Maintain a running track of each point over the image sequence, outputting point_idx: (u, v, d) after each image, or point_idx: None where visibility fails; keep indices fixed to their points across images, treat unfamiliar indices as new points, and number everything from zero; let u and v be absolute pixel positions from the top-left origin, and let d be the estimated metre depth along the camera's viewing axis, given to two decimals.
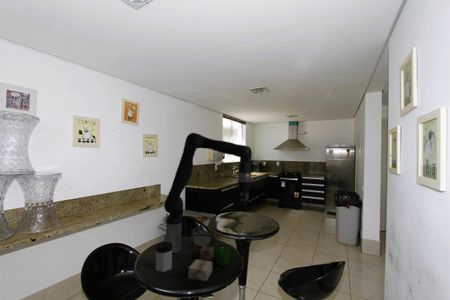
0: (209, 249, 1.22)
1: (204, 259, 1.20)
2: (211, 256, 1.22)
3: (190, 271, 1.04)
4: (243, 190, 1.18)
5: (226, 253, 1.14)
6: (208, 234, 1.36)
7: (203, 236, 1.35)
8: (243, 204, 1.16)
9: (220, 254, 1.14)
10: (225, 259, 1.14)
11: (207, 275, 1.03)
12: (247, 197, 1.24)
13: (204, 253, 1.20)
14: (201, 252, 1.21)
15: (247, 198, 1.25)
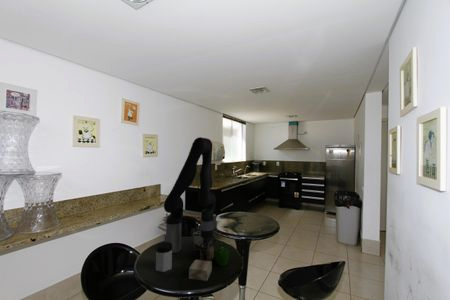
0: (209, 249, 1.22)
1: None
2: (211, 256, 1.22)
3: (191, 271, 1.03)
4: (205, 239, 1.20)
5: (226, 253, 1.14)
6: None
7: None
8: (205, 254, 1.19)
9: (220, 254, 1.14)
10: (225, 259, 1.14)
11: (208, 275, 1.04)
12: (210, 244, 1.25)
13: None
14: None
15: (210, 245, 1.25)
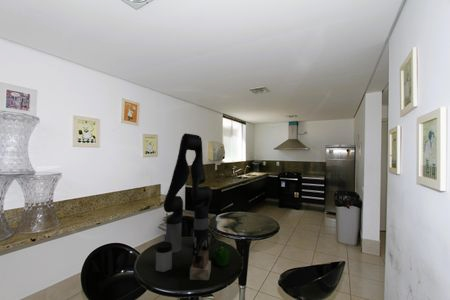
0: (203, 254, 1.06)
1: (197, 265, 1.04)
2: (205, 262, 1.06)
3: (192, 272, 1.03)
4: (198, 239, 1.04)
5: (226, 253, 1.14)
6: None
7: None
8: (197, 256, 1.02)
9: (220, 254, 1.14)
10: (225, 259, 1.14)
11: (209, 274, 1.04)
12: (205, 244, 1.09)
13: None
14: (194, 257, 1.05)
15: (205, 245, 1.10)
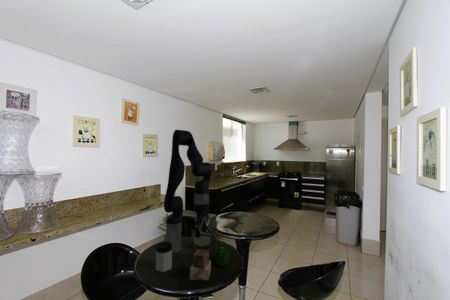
0: (203, 254, 1.06)
1: (197, 265, 1.04)
2: (206, 262, 1.05)
3: (192, 272, 1.03)
4: (198, 214, 1.04)
5: (226, 253, 1.14)
6: (208, 234, 1.36)
7: (203, 236, 1.35)
8: (197, 230, 1.02)
9: (220, 254, 1.14)
10: (225, 259, 1.14)
11: (209, 274, 1.04)
12: (205, 220, 1.10)
13: (198, 259, 1.04)
14: (194, 257, 1.05)
15: (205, 221, 1.10)
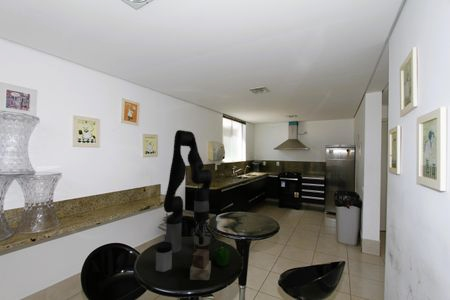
0: (203, 254, 1.06)
1: (197, 265, 1.04)
2: (205, 262, 1.06)
3: (192, 272, 1.03)
4: (198, 221, 1.04)
5: (226, 253, 1.14)
6: (208, 234, 1.36)
7: None
8: (201, 237, 1.06)
9: (220, 254, 1.14)
10: (225, 259, 1.14)
11: (209, 274, 1.04)
12: None
13: (197, 259, 1.04)
14: (194, 257, 1.05)
15: (203, 231, 1.07)
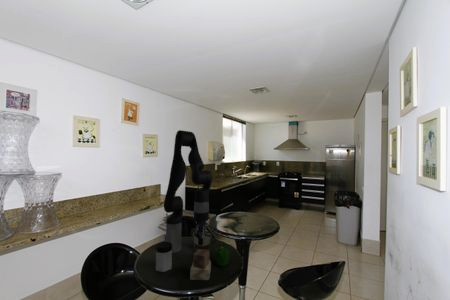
0: (204, 253, 1.06)
1: (198, 265, 1.05)
2: (206, 262, 1.06)
3: (192, 272, 1.03)
4: (198, 222, 1.04)
5: (226, 253, 1.14)
6: (208, 234, 1.36)
7: None
8: (200, 238, 1.06)
9: (220, 254, 1.14)
10: (225, 259, 1.14)
11: (209, 274, 1.05)
12: None
13: (198, 258, 1.05)
14: (194, 257, 1.05)
15: (203, 232, 1.07)
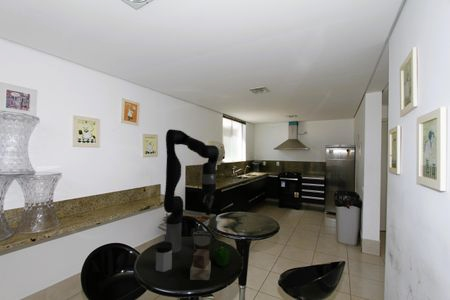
0: (204, 254, 1.06)
1: (198, 265, 1.04)
2: (206, 262, 1.06)
3: (192, 272, 1.03)
4: (206, 193, 1.11)
5: (226, 253, 1.14)
6: (208, 234, 1.36)
7: (203, 236, 1.35)
8: (208, 208, 1.13)
9: (220, 254, 1.14)
10: (225, 259, 1.14)
11: (209, 274, 1.04)
12: None
13: (198, 259, 1.04)
14: (194, 257, 1.05)
15: None
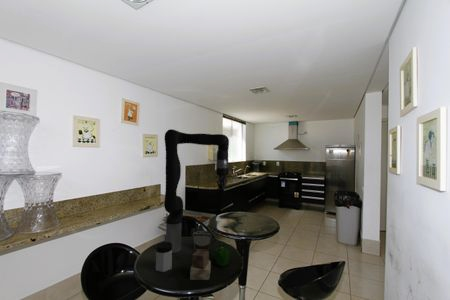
0: (203, 254, 1.06)
1: (197, 265, 1.04)
2: (205, 262, 1.06)
3: (192, 272, 1.03)
4: (220, 176, 1.27)
5: (226, 253, 1.14)
6: (208, 234, 1.36)
7: (203, 236, 1.35)
8: (222, 189, 1.29)
9: (220, 254, 1.14)
10: (225, 259, 1.14)
11: (209, 274, 1.05)
12: None
13: (197, 259, 1.04)
14: (194, 257, 1.05)
15: None
